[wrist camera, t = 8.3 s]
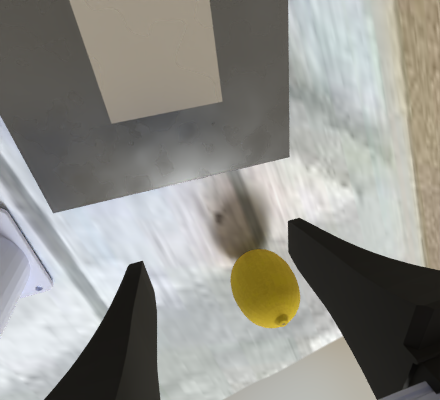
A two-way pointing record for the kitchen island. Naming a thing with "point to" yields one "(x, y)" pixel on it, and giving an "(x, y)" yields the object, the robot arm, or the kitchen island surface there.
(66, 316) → the kitchen island surface
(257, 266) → the lemon
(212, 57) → the post
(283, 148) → the stand base
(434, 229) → the kitchen island surface
